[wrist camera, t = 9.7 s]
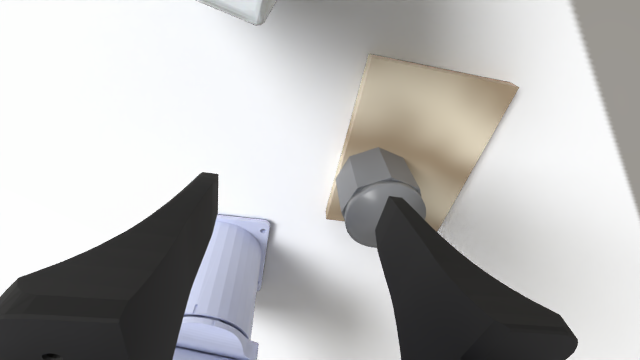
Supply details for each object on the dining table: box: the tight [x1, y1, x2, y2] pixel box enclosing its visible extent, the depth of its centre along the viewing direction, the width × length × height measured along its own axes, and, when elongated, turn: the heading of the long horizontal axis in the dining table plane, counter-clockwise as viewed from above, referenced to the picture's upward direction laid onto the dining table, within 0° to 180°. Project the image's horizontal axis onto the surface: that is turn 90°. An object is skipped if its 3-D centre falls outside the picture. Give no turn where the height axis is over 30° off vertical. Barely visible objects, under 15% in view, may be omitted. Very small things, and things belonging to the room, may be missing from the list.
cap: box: [336, 147, 426, 248], centre depth 22 cm, size 5×5×4 cm
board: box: [326, 54, 519, 231], centre depth 23 cm, size 13×10×1 cm
